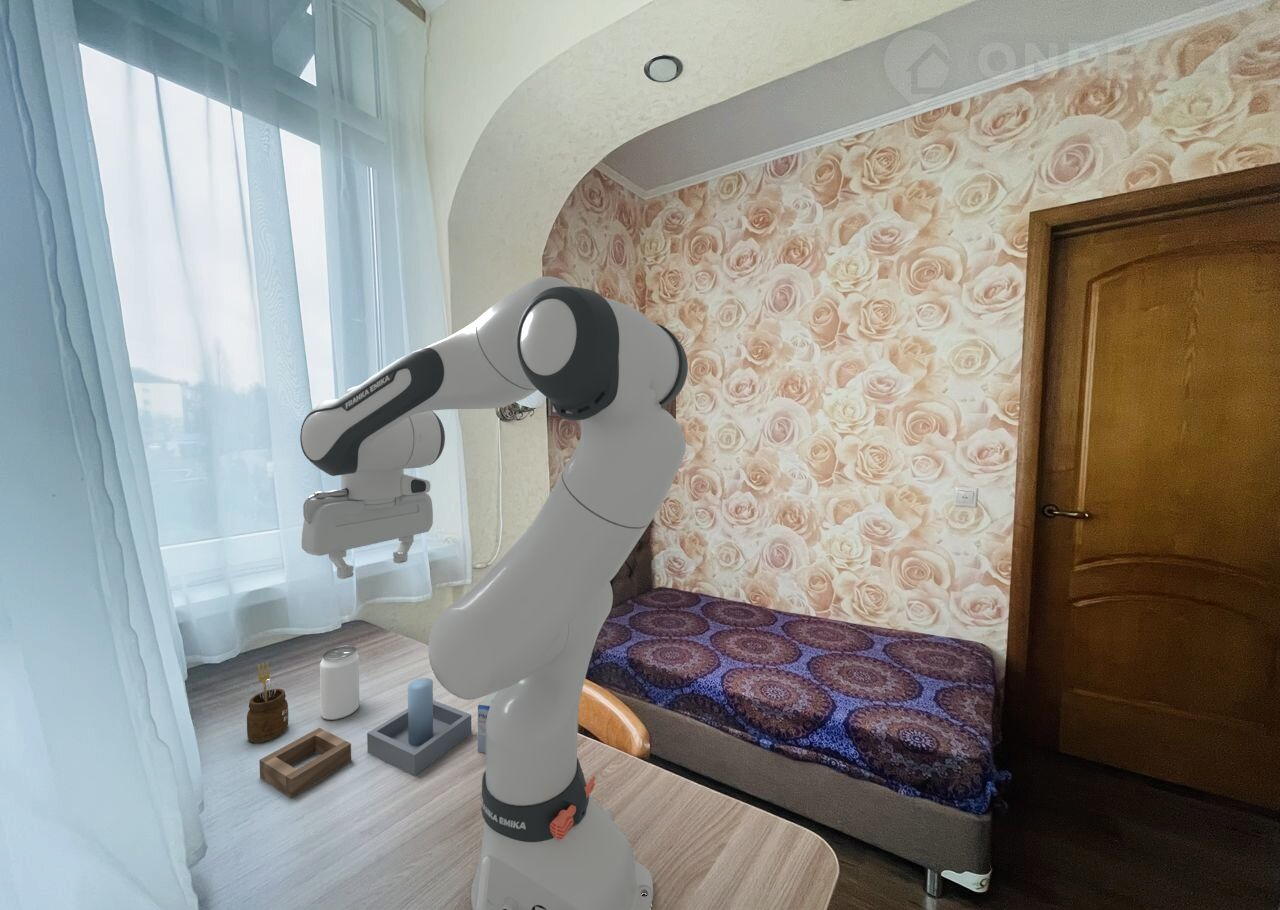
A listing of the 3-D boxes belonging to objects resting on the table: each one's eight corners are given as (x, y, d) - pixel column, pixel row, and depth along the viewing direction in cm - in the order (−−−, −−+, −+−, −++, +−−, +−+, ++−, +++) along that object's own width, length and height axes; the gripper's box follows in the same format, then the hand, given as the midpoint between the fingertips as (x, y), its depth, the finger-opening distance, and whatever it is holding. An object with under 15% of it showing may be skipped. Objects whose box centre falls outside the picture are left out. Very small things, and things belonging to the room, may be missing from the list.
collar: (351, 760, 78) (350, 743, 77) (291, 798, 70) (291, 779, 69) (319, 743, 82) (319, 727, 81) (259, 777, 73) (259, 759, 73)
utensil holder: (250, 748, 80) (248, 682, 79) (244, 732, 84) (242, 669, 84) (292, 732, 84) (290, 669, 84) (284, 718, 89) (282, 657, 88)
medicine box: (499, 724, 88) (499, 680, 87) (521, 728, 87) (521, 683, 86) (476, 752, 80) (476, 704, 80) (500, 756, 79) (500, 708, 79)
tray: (471, 732, 85) (471, 714, 85) (414, 775, 74) (414, 755, 74) (426, 714, 90) (426, 697, 90) (367, 752, 80) (367, 732, 79)
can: (340, 723, 87) (339, 662, 87) (312, 718, 89) (311, 658, 88) (367, 703, 94) (366, 646, 93) (340, 699, 95) (339, 643, 94)
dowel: (437, 735, 83) (437, 681, 83) (418, 748, 80) (418, 692, 79) (422, 728, 85) (422, 676, 84) (403, 741, 81) (402, 686, 81)
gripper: (316, 494, 64) (318, 592, 65) (438, 481, 82) (438, 557, 83) (290, 491, 67) (293, 584, 67) (414, 479, 85) (415, 552, 86)
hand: (374, 569), depth 75 cm, fingers open, 8 cm apart
